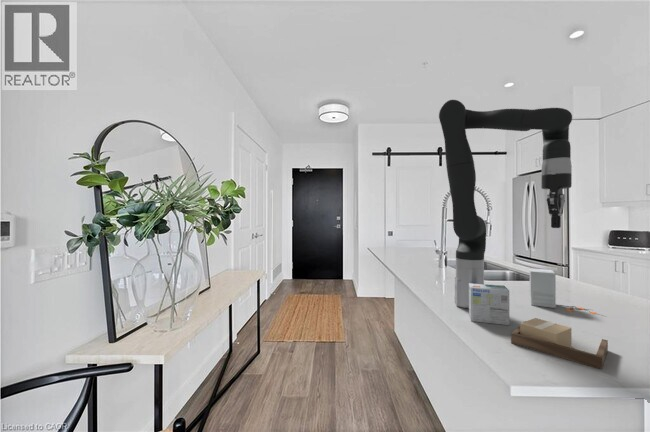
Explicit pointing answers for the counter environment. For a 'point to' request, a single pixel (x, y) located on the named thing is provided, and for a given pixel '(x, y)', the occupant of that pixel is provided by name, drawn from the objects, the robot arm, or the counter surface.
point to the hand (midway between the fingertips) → (555, 227)
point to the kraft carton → (546, 331)
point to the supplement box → (543, 288)
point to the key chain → (578, 309)
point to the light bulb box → (489, 303)
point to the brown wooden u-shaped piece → (562, 350)
